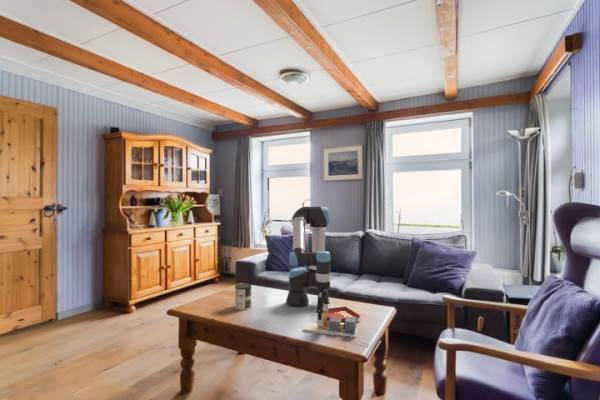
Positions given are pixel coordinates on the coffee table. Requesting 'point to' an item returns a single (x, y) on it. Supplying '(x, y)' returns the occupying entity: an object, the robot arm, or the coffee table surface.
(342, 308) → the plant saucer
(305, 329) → the base board
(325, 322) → the yellow wall block
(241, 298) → the coffee can
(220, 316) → the coffee table surface
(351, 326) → the socket
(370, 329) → the coffee table surface
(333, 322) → the grey speckled block
